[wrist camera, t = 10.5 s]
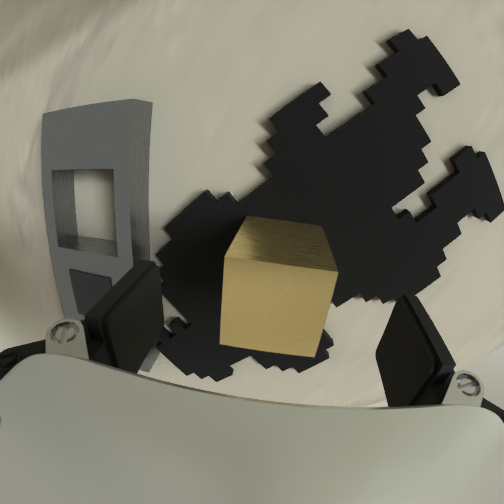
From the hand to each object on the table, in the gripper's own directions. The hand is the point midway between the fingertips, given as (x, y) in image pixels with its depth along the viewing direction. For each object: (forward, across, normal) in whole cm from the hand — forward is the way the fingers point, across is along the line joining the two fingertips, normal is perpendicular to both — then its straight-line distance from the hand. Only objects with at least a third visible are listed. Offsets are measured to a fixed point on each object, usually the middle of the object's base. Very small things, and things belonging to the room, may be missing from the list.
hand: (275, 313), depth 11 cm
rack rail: (+8, +13, +2) cm, 15 cm away
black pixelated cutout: (+9, -2, +1) cm, 9 cm away
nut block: (+8, 0, +1) cm, 8 cm away
